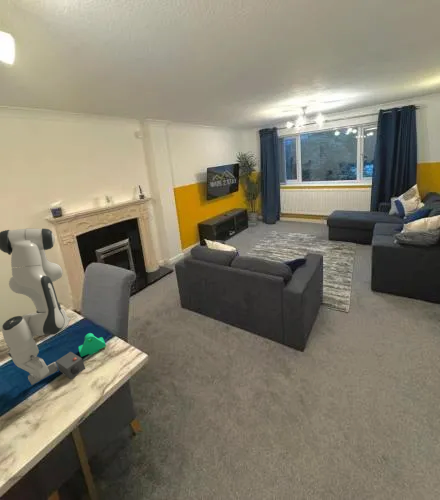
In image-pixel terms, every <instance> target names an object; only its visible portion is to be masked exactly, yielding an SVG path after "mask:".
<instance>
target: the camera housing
mask: <svg viewBox="0 0 440 500" xmlns="http://www.w3.org/2000/svg"><path fill="white" fill-rule="evenodd" d="M55 362H56V365H57V367H58V371H59V372H60V373H61V374H63V375H64V376H66V377H67V378H69V379H70V380H72V379H73V378H75V377H76V376H77V375H79V374H81V373H82V371H84V370H85V369H86V367H85V363H84V361H83V357H81V356H79V355H77V354H75V353H74V352H72V351H69V352H68V353H67V354H64V355H63V356H62V357H60V358H58V359H57V360H56V361H55Z"/></svg>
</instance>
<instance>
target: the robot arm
mask: <svg viewBox="0 0 440 500" xmlns="http://www.w3.org/2000/svg"><path fill="white" fill-rule="evenodd" d="M55 243H56V237H55V235H54V233H53V231H52V230H51V229H49V228H20V229H19V228H18V229H11V230H10V229H6V230H2V231H0V251H1V252H3V253H5V254H8V255H9V256H11V257H10V265H11V276H12V277H10V279H9V281H8V285H9V289H10V290H11V291H12V292H13V293H15V294H19V295H24V296H27V297H28V298H29V299H30V300H31V301H32V302H33V305H34V306H35V309H36V312H34V313H33V312H32V313H28V314H27V313H26V314H23V315H17V316H13V317H10V318H9V319H7V320H6V321H5V322H4V323H3V324H2V326H1V332H2V337H3V339H4V343H5V344H6V346H7V347H8V348H9V351H7V355H8V357H10V358H11V360H12V361H13V363H14V365H15V366H17V367H18V368H19V369H21V370H24V371H26V372H27V373H28V374H29V375H31V376H32V378H33V379H35V380H37V379H38V378H43V377H45V376H46V375H47V374H48V373H49V370H48V368H47V366H48V365H47V364H46V362H45V361H44V359H43V358H42V357H39V356H38V354H39V353H40V350H39V347H38V345H37V342H36V340H35V339H34V337H35V336H38V337H42V336H45V335H46V336H50V335H52V336H53V335H57V334H58V333H59V332H60V331H62V330H64V329H65V328H66V327H67V326H68V325H69V322H70V321H71V320H72V318H71V317H69V316H68V314H67V312H66V311H65V309H64V308H62V306H61V304H60V302H59V301H58V298H57V296H58V295H57V292H56V290H55V286H54V282H55V281H58V280H60V279H61V278H62V277H63V275H64V274H63V273H64V272H63V268H62V267H61V266H60V264H58V263H56V262H52V261H49V260H48V257H47V255H46V251H47V250H51V249H52V248H54V245H55Z"/></svg>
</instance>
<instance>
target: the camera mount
mask: <svg viewBox="0 0 440 500" xmlns="http://www.w3.org/2000/svg"><path fill="white" fill-rule="evenodd" d="M106 347H107V345H106V341H105V339H104V338H103V336H101V337H97V336H95V334H93V333H91V332H89V333H87V334H86V335H85V336H84V341H83V343H82V344H80V345H78V352H79V355H80V358H83V357H85V356H87V355H89V356H91V355H93V354H95V353H98V352H100V350H101V349H103V348H106Z"/></svg>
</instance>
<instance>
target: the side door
mask: <svg viewBox="0 0 440 500" xmlns="http://www.w3.org/2000/svg"><path fill="white" fill-rule="evenodd" d="M46 366H47V368H48V370H49V373H48V374H47V375H46V376H45V377H43V378H38V379H37V380H35V379H33V378H32V376H31V375H30V374H29V375H27V378H28V379H27V380H28V381H29V382H30V384H31V386H33V385H35V384H36V383H38V382H40V381H42V380H43V379H45V378H47V377H49V376H51V375H53V374H55V373H56V372H58V371H59V368H58V365H57V363H56V361H53V362H52V363H50V364H48V365H46Z"/></svg>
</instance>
